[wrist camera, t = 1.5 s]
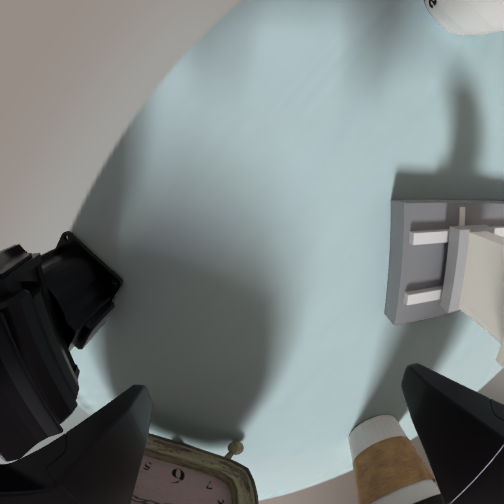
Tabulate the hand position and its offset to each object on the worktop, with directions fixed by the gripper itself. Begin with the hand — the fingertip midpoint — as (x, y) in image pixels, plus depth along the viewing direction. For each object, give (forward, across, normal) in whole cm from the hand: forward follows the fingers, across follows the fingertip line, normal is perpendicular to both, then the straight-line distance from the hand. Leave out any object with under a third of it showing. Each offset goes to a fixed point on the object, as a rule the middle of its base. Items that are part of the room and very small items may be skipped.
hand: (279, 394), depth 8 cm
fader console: (+12, -17, 0) cm, 21 cm away
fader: (+9, -15, 0) cm, 17 cm away
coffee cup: (+12, -11, +20) cm, 26 cm away
